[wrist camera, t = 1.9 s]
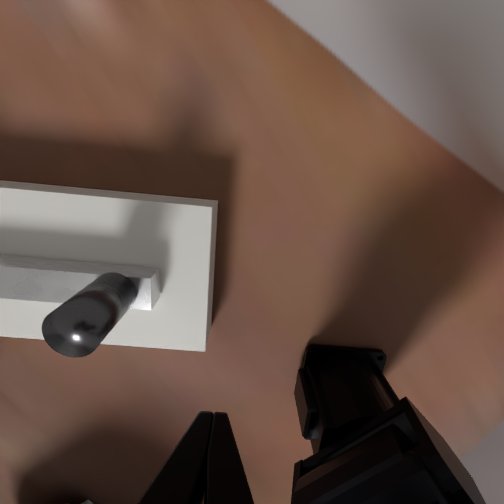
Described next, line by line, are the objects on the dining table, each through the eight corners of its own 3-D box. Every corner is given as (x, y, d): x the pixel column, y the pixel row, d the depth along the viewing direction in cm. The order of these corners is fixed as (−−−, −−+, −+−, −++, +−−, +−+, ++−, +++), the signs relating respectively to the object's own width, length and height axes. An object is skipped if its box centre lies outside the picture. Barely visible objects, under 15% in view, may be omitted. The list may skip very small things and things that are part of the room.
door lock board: (218, 200, 19) (202, 218, 12) (211, 327, 22) (195, 390, 16) (-149, 166, 18) (-357, 167, 12) (-102, 302, 21) (-248, 359, 15)
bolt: (159, 265, 17) (116, 313, 11) (159, 300, 17) (119, 360, 12) (-9, 250, 16) (-135, 292, 11) (-2, 287, 17) (-116, 343, 12)
